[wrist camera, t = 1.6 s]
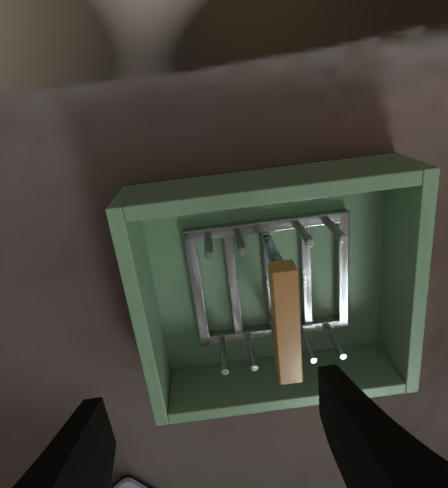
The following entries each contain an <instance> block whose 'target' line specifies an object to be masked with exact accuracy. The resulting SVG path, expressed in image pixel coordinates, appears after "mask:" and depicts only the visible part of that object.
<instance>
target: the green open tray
mask: <svg viewBox="0 0 448 488" xmlns="http://www.w3.org/2000/svg"><path fill="white" fill-rule="evenodd" d="M439 173H440V168H439V167H437V166H434V165H431V164H428V163H425V162H422V161H419V160H416V159H413V158H410V157H407V156H404V155H401V154H398V153H388V154H380V155H371V156H363V157H355V158H347V159H339V160H331V161H323V162H315V163H307V164H298V165H290V166H282V167H274V168H266V169H258V170H250V171H242V172H234V173H225V174H217V175H209V176H201V177H193V178H185V179H177V180H169V181H161V182H152V183H144V184H136V185H128V186H123V187H122V188H121V189H120V191H119V192H118V193H117V194H116V196H115V197H114V198H113V200H112V201H111V202H110V203H109V205H108V206H107V207H106V209H105V212H106V216H107V220H108V224H109V229H110V233H111V237H112V241H113V246H114V250H115V254H116V258H117V262H118V267H119V271H120V275H121V279H122V284H123V288H124V292H125V296H126V301H127V305H128V309H129V313H130V318H131V322H132V326H133V330H134V335H135V339H136V343H137V347H138V352H139V356H140V360H141V364H142V369H143V373H144V377H145V381H146V386H147V390H148V394H149V398H150V402H151V407H152V411H153V415H154V419H155V424H156V426H161V425H168V424H176V423H183V422H191V421H198V420H206V419H214V418H221V417H229V416H236V415H244V414H252V413H259V412H267V411H274V410H282V409H290V408H297V407H305V406H312V405H319V387H318V367H320V366H327V365H334V364H336V365H338V366H339V367H340V368H341V369H342V370H343V371H344V373H345V374H346V375H347V376H348V377H349V378H350V379H351V380H352V381H353V382H354V383H355V384H356V385H357V386H358V387H359V388H360V389H361V390H362V391H363V392H364V393H365V394H366V395H367V396H368V397H369V398H373V397H381V396H389V395H396V394H404V393H413V392H418V390H419V379H420V369H421V359H422V348H423V338H424V328H425V317H426V307H427V297H428V286H429V276H430V266H431V255H432V245H433V235H434V224H435V214H436V204H437V193H438V183H439ZM337 209H347V210H348V211H349V212H350V223H349V327H348V328H343V329H336V330H333V331H334V332H335V334H336V336H337V338H338V340H339V342H340V343H341V345H342V347H343V349H344V351H345V352H346V354H347V358H346V359H344V360H341V359H340V358H339V356H338V354H337V352H336V350H335V348H334V346H333V345H332V343H331V341H330V339H329V337H328V335H327V333H326V331H320V332H312V333H306V334H307V336H308V338H309V341H310V343H311V345H312V348H313V350H314V352H315V354H316V357H317V359H318V360H317V362H316V363H314V364H312V363H311V362H310V361H309V358H308V356H307V353H306V351H305V348H304V346H303V343H302V341H301V344H302V367H303V382H301V383H293V384H285V385H280V384H279V380H278V376H277V373H276V367H275V354H274V341H273V338H266V339H258V340H253V344H254V348H255V353H256V358H257V362H258V367H259V368H258V370H257V371H252V370H251V368H250V362H249V357H248V351H247V346H246V341H243V342H235V343H227V344H226V348H227V358H228V367H229V373H228V374H227V375H223V374H222V373H221V366H220V353H219V345H212V346H204V347H201V345H200V338H199V332H198V326H197V320H196V314H195V307H194V301H193V295H192V289H191V283H190V277H189V270H188V264H187V258H186V252H185V246H184V239H183V229H185V228H193V227H201V226H209V225H217V224H225V223H233V222H241V221H249V220H257V219H265V218H273V217H281V216H289V215H297V214H305V213H313V212H321V211H329V210H337ZM310 236H311V237H312V239H313V240H314V242H315V243H314V245H313V246H312V247H311V272H312V306H313V318H318V317H325V316H333V315H335V236H334V235H333V233H332V232H331V231H330V230H329V229H328V228H327V227H326V226H325V225H322V226H314V227H310ZM243 238H244V241H245V245H246V248H247V254H246V255H244V256H241V255H240V254H239V253H238V249H237V245H236V241H235V236H234V237H233V243H234V252H235V261H236V270H237V279H238V288H239V297H240V306H241V315H242V325H243V327H248V326H255V325H263V324H268V312H267V299H266V287H265V274H264V262H263V250H262V237H261V233H258V234H250V235H243ZM272 239H273V240H274V242H275V244H276V246H277V248H278V250H279V252H280V254H281V256H282V258H283V260H289V259H292V260H293V262H294V263H295V265H296V267H297V269H298V276H299V299H300V320H302V319H303V308H302V284H301V260H300V236H299V234H298V233H297V231H296V230H295V229H290V230H282V231H274V232H272ZM196 242H197V249H198V256H199V263H200V269H201V276H202V283H203V290H204V296H205V303H206V310H207V316H208V323H209V330H210V331H216V330H224V329H232V328H234V325H233V316H232V308H231V300H230V292H229V283H228V275H227V267H226V258H225V250H224V242H223V238H218V239H212V243H213V255H214V256H213V258H212V259H211V260H207V259H206V258H205V256H204V240H202V241H196Z"/></svg>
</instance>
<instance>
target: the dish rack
mask: <svg viewBox="0 0 448 488" xmlns="http://www.w3.org/2000/svg"><path fill="white" fill-rule="evenodd" d="M349 223H350V212H349V211H348V210H347V209H337V210H329V211H321V212H313V213H305V214H297V215H289V216H281V217H273V218H265V219H257V220H249V221H241V222H233V223H225V224H217V225H209V226H201V227H193V228H185V229H183V239H184V246H185V252H186V258H187V264H188V270H189V277H190V283H191V289H192V295H193V301H194V307H195V314H196V320H197V326H198V332H199V338H200V345H201V347H204V346H212V345H219V353H220V366H221V373H222V374H223V375H227V374H228V373H229V367H228V358H227V348H226V344H227V343H235V342H243V341H246V346H247V351H248V357H249V362H250V368H251V370H252V371H257V370H258V368H259V367H258V362H257V358H256V353H255V348H254V344H253V340H258V339H266V338H273V341H274V354H275V367H276V373H277V376H278V380H279V384H280V385H285V384H293V383H301V382H303V367H302V344H301V341H302V343H303V346H304V348H305V351H306V353H307V356H308V358H309V361H310V362H311V363H312V364H314V363H316V362H317V360H318V359H317V357H316V354H315V352H314V350H313V348H312V345H311V343H310V341H309V338H308V336H307V334H306V333H312V332H320V331H326V333H327V335H328V337H329V339H330V341H331V343H332V345H333V346H334V348H335V350H336V352H337V354H338V356H339V358H340V359H341V360H344V359H346V358H347V354H346V352H345V351H344V349H343V347H342V345H341V343H340V342H339V340H338V338H337V336H336V334H335V332H334V331H333V330H336V329H343V328H348V327H349ZM322 225H325V226H326V227H327V228H328V229H329V230H330V231H331V232H332V233H333V235H334V236H335V315H333V316H325V317H318V318H313V306H312V272H311V247H312V246H313V245H314V243H315V242H314V240H313V239H312V237H311V236H310V227H314V226H322ZM290 229H295V230H296V231H297V233H298V234H299V236H300V260H301V284H302V308H303V319H302V320H300V299H299V276H298V269H297V267H296V265H295V263H294V262H293V260H292V259H289V260H283V258H282V256H281V254H280V252H279V250H278V248H277V246H276V244H275V242H274V240H273V239H272V232H274V231H282V230H290ZM258 233H261V237H262V250H263V262H264V274H265V287H266V299H267V312H268V324H263V325H255V326H248V327H243V325H242V315H241V306H240V297H239V288H238V279H237V270H236V261H235V252H234V243H233V237H234V236H235V241H236V245H237V249H238V253H239V254H240V255H241V256H244V255H246V254H247V248H246V245H245V241H244V238H243V235H250V234H258ZM218 238H223V242H224V250H225V258H226V267H227V275H228V283H229V292H230V300H231V308H232V316H233V325H234V328H232V329H224V330H216V331H210V330H209V323H208V316H207V310H206V303H205V296H204V290H203V283H202V276H201V269H200V263H199V256H198V249H197V242H196V241H202V240H204V256H205V258H206V259H207V260H211V259H212V258H213V256H214V255H213V243H212V239H218Z"/></svg>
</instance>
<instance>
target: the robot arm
mask: <svg viewBox="0 0 448 488" xmlns="http://www.w3.org/2000/svg"><path fill="white" fill-rule="evenodd" d="M318 387H319V411H320V417H321V420H322V423H323V427H324V430H325V434H326V437H327V440H328V443H329V446H330V448H331V451H332V453H333V456H334V458H335V460H336V463H337V465H338V468H339V470H340V472H341V475H342V477H343V479H344V482H345V484H346V487H347V488H448V461H446V460H445V459H443V458H442V457H441V456H439V455H438V454H436V453H435V452H433V451H432V450H431V449H429V448H428V447H427V446H425V445H424V444H423V443H421V442H420V441H419V440H417V439H416V438H415V437H413V436H412V435H411V434H410V433H408V432H407V431H406V430H405V429H404V428H402V427H401V426H400V425H399V424H398V423H396V422H395V421H394V420H393V419H392V418H391V417H389V416H388V415H387V414H386V413H385V412H384V411H383V410H382V409H381V408H380V407H379V406H377V405H376V404H375V403H374V402H373V401H372V400H371V399H370V398H369V397H368V396H367V395H366V394H365V393H364V392H363V391H362V390H361V389H360V388H359V387H358V386H357V385H356V384H355V383H354V382H353V381H352V380H351V379H350V378H349V377H348V376H347V375H346V374H345V373H344V371H343V370H342V369H341V368H340V367H339V366H338V365H336V364H334V365H327V366H320V367H318ZM115 448H116V440H115V437H114V434H113V431H112V428H111V424H110V421H109V418H108V415H107V412H106V408H105V405H104V402H103V399H102V397H99V398H92V399H85V400H83V401H82V403H81V404H80V405H79V406H78V408H77V409H76V410H75V411H74V413H73V414H72V415H71V417H70V418H69V419H68V420H67V422H66V423H65V424H64V426H63V427H62V428H61V430H60V431H59V432H58V433H57V435H56V436H55V437H54V439H53V440H52V441H51V442H50V443H49V445H48V446H47V447H46V448H45V450H44V451H43V452H42V453H41V455H40V456H39V457H38V458H37V460H36V461H35V462H34V463H33V464H32V465H31V467H30V468H29V469H28V470H27V471H26V472H25V474H24V475H23V476H22V477H21V478H20V479H19V480H18V482H17V483H16V484H15V485H14V486H13V487H12V488H109V485H110V481H111V477H112V471H113V464H114V456H115ZM113 488H148V487H146V486H144V485H143V484H141V483H139V482H138V481H136V480H134V479H132V478H124V479H123V480H121V481H120V482H119V483H118V484H117V485H115V486H114V487H113Z"/></svg>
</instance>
